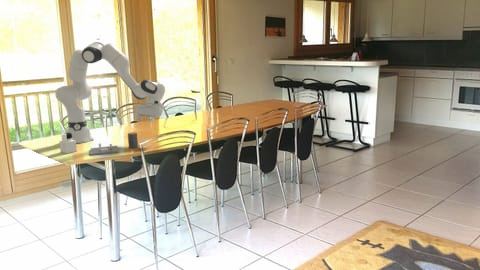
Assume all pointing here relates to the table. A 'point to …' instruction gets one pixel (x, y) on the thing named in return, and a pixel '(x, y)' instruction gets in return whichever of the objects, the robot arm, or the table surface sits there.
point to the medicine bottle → (67, 143)
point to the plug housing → (132, 140)
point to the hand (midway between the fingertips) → (143, 121)
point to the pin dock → (103, 150)
